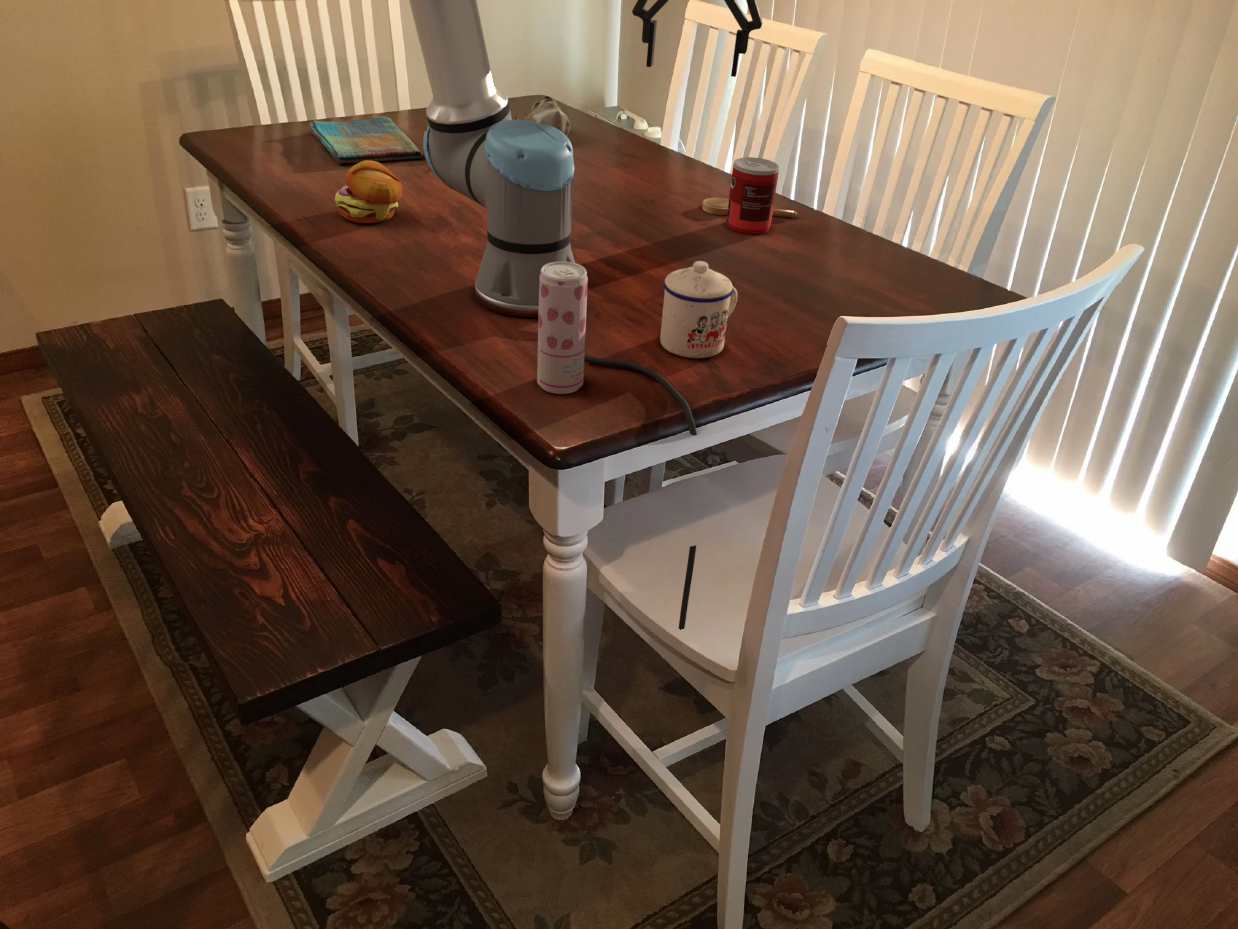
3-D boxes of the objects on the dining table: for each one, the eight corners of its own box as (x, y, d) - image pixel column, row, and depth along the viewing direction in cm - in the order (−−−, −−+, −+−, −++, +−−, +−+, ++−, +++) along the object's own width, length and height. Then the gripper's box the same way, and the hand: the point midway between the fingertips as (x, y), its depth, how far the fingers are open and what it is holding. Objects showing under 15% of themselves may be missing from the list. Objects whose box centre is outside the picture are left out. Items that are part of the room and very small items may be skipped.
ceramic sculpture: (533, 103, 200) (512, 89, 211) (533, 147, 204) (512, 131, 216) (583, 102, 203) (559, 88, 215) (581, 145, 208) (558, 130, 219)
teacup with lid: (690, 366, 128) (699, 282, 122) (644, 340, 134) (651, 258, 128) (754, 344, 135) (766, 263, 129) (708, 319, 141) (717, 240, 134)
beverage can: (567, 400, 119) (571, 283, 111) (528, 386, 122) (529, 271, 113) (591, 381, 124) (597, 268, 115) (553, 368, 126) (556, 256, 117)
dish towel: (391, 126, 211) (390, 114, 210) (425, 159, 194) (424, 146, 192) (309, 132, 204) (307, 119, 203) (336, 166, 187) (335, 152, 186)
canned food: (744, 215, 178) (752, 154, 172) (779, 228, 173) (789, 166, 167) (716, 224, 173) (723, 161, 167) (751, 238, 169) (760, 173, 163)
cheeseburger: (363, 199, 172) (370, 145, 166) (410, 227, 170) (419, 174, 164) (321, 214, 165) (327, 158, 159) (370, 243, 162) (378, 188, 156)
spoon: (796, 212, 181) (797, 205, 181) (796, 223, 176) (797, 216, 176) (703, 202, 183) (704, 195, 182) (701, 213, 178) (701, 206, 177)
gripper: (792, -75, 149) (770, 74, 161) (629, -91, 152) (618, 56, 163) (791, -71, 143) (768, 83, 154) (621, -88, 145) (611, 65, 157)
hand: (691, 70), depth 159 cm, fingers open, 13 cm apart
